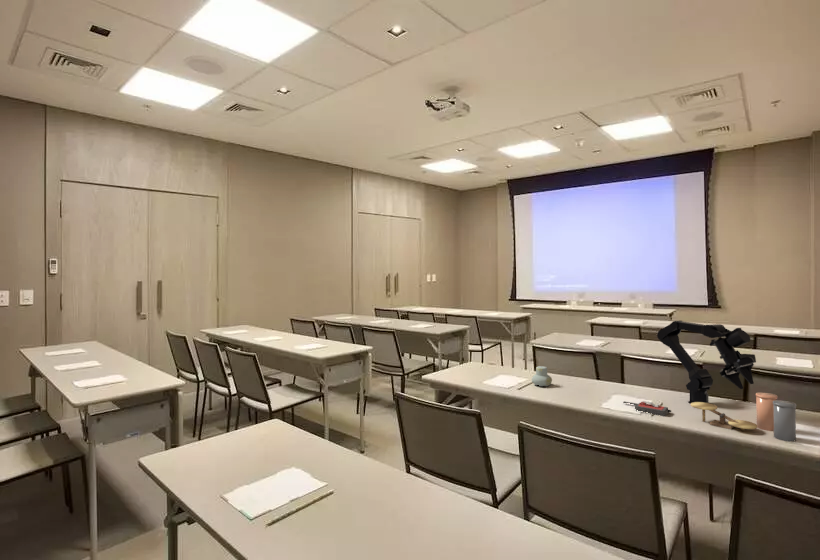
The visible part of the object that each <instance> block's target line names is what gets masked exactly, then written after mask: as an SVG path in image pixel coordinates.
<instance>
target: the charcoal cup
mask: <svg viewBox="0 0 820 560" xmlns="http://www.w3.org/2000/svg"><path fill="white" fill-rule="evenodd" d="M773 407H774V431H773V438H774V439H777V440H779V441H784V442H790V441H793V442H795V441H794V440H796V441H797V411H796V408H797V403H795V402H793V401H787V400H778V399H777V400H775V401H773Z"/></svg>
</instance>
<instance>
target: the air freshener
mask: <svg viewBox="0 0 820 560" xmlns="http://www.w3.org/2000/svg"><path fill="white" fill-rule="evenodd" d="M552 381H553V379H552V376H550V375H549V374H548V367H547V366H543V365H539V366H536V368H535V374H534V375H533V376H532V377H531V383H533V384H534V385H535V386H537V385H539V386H538V387H543V386H546V387H548V386H550V385H551V384H552Z"/></svg>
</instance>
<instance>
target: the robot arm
mask: <svg viewBox="0 0 820 560" xmlns="http://www.w3.org/2000/svg"><path fill="white" fill-rule="evenodd" d="M682 331H686V332H693V333H697V334H701V335H702V336H703V337H704V336H705V337H707V338H710V339H711V340H710V343H709V346H715V348H716V350H717V351H718V353H719V354H720V356H719V359H720V360H723V362H724V368H722V369H720V370H719V374H720V376H721V377H723V378H725V379H726V380H728V381H729V382H730V383H732V384H734V385H735V387H737V388H738V389H739V390H743V389H744V387H743V383H742V381H741V378H740V375H741V376H742V377H743V378H744V379H745V380H746V382H747V383H748V384H749V385H754V378H753V373H752V368H753V367H754V365H755V364H754V363H757V359H756V354H754V353H752V354H751V353H741V352H740V351H739V350H736V349H735V348H738V347H741V346H743V345H745V344H748V343H750V342H751V336H750V334H749V333H747V332H746V331H745V330H743V329H742V327H737V328H734V329H733V330H729V329H728V328H726V327H725V326H724V324H720V323H718V324H717V323H716V324H704V323H703V324H701V323H696V322H690V321H683V320H673V321H672V322H671V323H670V324H668V325H666V326H665V327H663V328H662V329H659V330H658V331H657V335H656V337H657V339H658V340H659V341H660V342H661V344H663V345H665V346H666V347H668V348H669V349H670V350H671V351H672V352H673V354H674V355H675V356H676V358H677V359H678V362H680V363H681V365H682V366H683V367H684V369H685V370H686V371H687V373H688V379H689V382H688V383H686V384H685V387H686V390H687V391H689V400H688V401H687V402H688V403H689V404H691V403H692V402H704V403H709V393H708V391H709V390H710V389H711V387H712V386H713V383H714V379H713V376H712V374H710V373H709V371H708V369H707V368H700V367H699V366H698V365H697V364H696V362H695V361H694V360H693V358H692V357H691V356H690V355H689V353H688V352H687V350H686V349H685V347H684V346H683V345H682V344H681V342H680V337H679V335H680V334H681V333H682Z"/></svg>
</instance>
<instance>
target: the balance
mask: <svg viewBox="0 0 820 560" xmlns="http://www.w3.org/2000/svg"><path fill="white" fill-rule="evenodd" d="M690 406H691V407H692V408H694V409H697V410H702V411H701V413H702V415H701V417H702V419H701V420H702V421H701V422H703V423H706V411H709V412H711V413H713V414H715V415H717V416H719V419H713V420H712V421H710V422H709V423H710V424H709V425H710V426H714V427H718V428H723V429H728V430H733V429H734V428H738V429H740V431H745V430H755V429H757V423H754V422H752V421H750V420H749V421H748V420H744V419H734V418H731V417H729V416H728V415H726V414H725V413H724V412H723V413H721V412H720V411H717V410H718V405H715V404H714V403H713V404H712V403H704V402H692V403H690ZM726 420H728V421H726Z"/></svg>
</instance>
